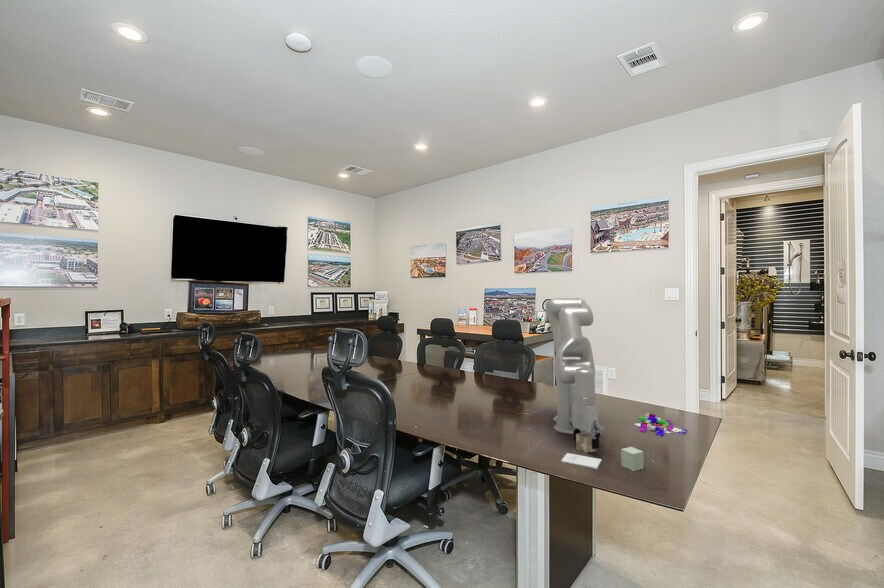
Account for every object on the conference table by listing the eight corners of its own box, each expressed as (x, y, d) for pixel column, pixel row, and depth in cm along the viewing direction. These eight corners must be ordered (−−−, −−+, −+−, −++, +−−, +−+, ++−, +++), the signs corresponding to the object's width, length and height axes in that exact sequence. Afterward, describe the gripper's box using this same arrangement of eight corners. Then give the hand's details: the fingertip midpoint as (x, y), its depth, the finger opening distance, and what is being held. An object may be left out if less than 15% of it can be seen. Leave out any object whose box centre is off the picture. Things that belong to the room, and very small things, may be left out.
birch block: (576, 449, 156) (576, 433, 156) (586, 446, 158) (585, 431, 158) (585, 453, 152) (585, 437, 152) (595, 451, 154) (595, 435, 154)
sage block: (621, 466, 140) (621, 449, 140) (631, 463, 142) (631, 446, 142) (633, 471, 136) (633, 454, 136) (643, 468, 138) (643, 451, 138)
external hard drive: (597, 472, 137) (561, 464, 144) (602, 463, 144) (567, 456, 151) (597, 467, 137) (561, 459, 144) (602, 458, 144) (567, 452, 151)
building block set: (681, 441, 163) (681, 430, 163) (628, 431, 177) (628, 421, 177) (691, 425, 182) (691, 416, 182) (643, 417, 196) (642, 408, 196)
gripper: (562, 396, 161) (563, 439, 161) (594, 406, 146) (595, 453, 145) (576, 394, 164) (577, 436, 164) (609, 404, 149) (610, 450, 148)
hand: (586, 444), depth 155 cm, fingers open, 9 cm apart
